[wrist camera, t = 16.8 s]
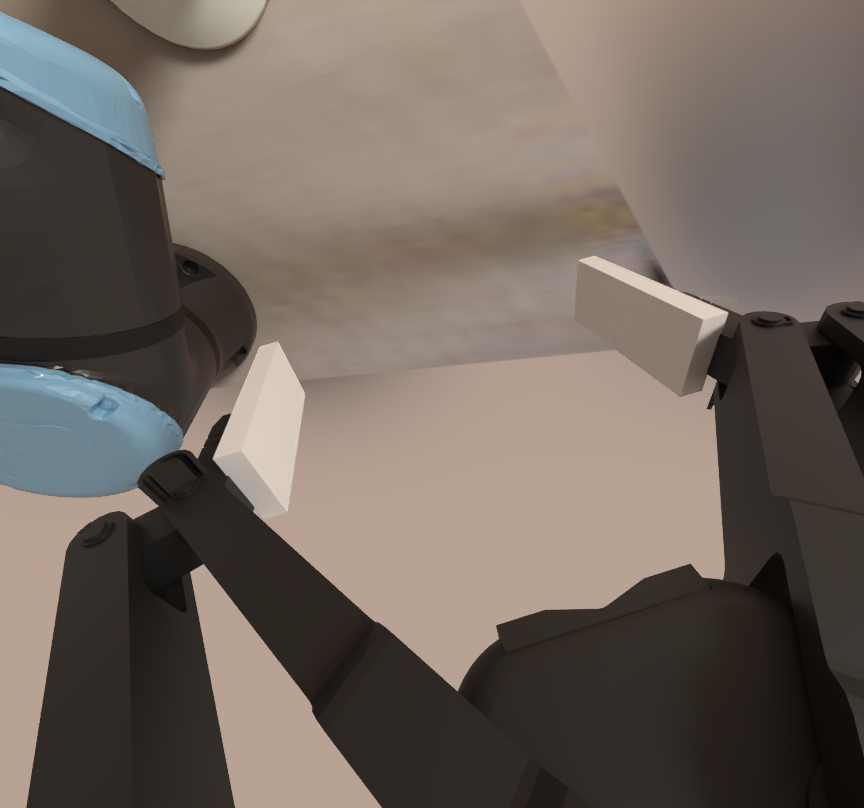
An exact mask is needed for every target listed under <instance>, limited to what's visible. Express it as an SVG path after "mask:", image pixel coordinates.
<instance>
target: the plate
mask: <svg viewBox="0 0 864 808" xmlns="http://www.w3.org/2000/svg"><path fill="white" fill-rule="evenodd" d="M111 1H112V2H113V3H114V4H115V5H116V6H117V7H118V8H119V9H120V10H121V11H123V12H124V13H125V14H127V15H128V16H129V17H130V18H132V19H133V20H134V21H135V22H137V23H138V24H140V25H142V26H143V27H145V28H146V29H148V30H149V31H151V32H153V33H154V34H156V35H158V36H160V37H162V38H164V39H166V40H168V41H170V42H172V43H175V44H177V45H180V46H183V47H187V48H192V49H197V50H215V49H222V48H225V47H228V46H231V45H233V44H235V43H237V42H239V41H240V40H242V39H243V38H244V37H246V36H247V35H248V34H249V33H250V32H251V31H252V30H253V29H254V27H255V26H256V25H257V24H258V22H259V20H260V19H261V17H262V15H263V13H264V11H265V9H266V6H267V4H268V1H269V0H111Z"/></svg>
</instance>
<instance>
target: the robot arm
mask: <svg viewBox="0 0 864 808" xmlns="http://www.w3.org/2000/svg"><path fill="white" fill-rule="evenodd" d="M162 180H165V174H164V171H163V169H162V168H161V167H160V166H159V165H158V160H157V156H156V151H155V146H154V142H153V137H152V132H151V128H150V123H149V118H148V114H147V111H146V108H145V106H144V104H143V102H142V100H141V98H140V96H139V95H138V93H137V92H136V91H135V89H134V88H133V87H132V86H131V85H130V84H129V83H128V81H127V80H126V79H125V78H124V77H123V76H121V75H120V74H119V73H118V72H116V71H115V70H114V69H112V68H111V67H110V66H108V65H107V64H105V63H103V62H102V61H100V60H99V59H97V58H95V57H94V56H92V55H90V54H88V53H86V52H84V51H82V50H81V49H79V48H77V47H75V46H73V45H71V44H69V43H67V42H65V41H62V40H60V39H58V38H56V37H54V36H52V35H50V34H48V33H46V32H44V31H42V30H40V29H37V28H35V27H33V26H31V25H29V24H27V23H24V22H22V21H20V20H18V19H16V18H13V17H11V16H9V15H7V14H4V13H2V12H0V484H2V485H6V486H9V487H12V488H15V489H18V490H22V491H26V492H31V493H36V494H42V495H49V496H58V497H101V496H108V495H114V494H118V493H123V492H127V491H129V490H132V489H135V488H137V487H138V488H139V489H140V490H142V491H143V492H144V493H145V494H146V495H147V496H148V497H149V498H150V499H152V500H153V501H154V502H155V503H156V504H157V505H158V506H159V507H157V508H155V509H153V510H151V511H149V512H147V513H145V514H143V515H141V516H140V517H137V518H135V519H134V520H133V519H132V518H130V517H129V516H128V515H127V514H126V513H124V512H120V511H117V512H112V513H108V514H106V515H104V516H102V517H99V518H97V519H96V520H94V521H93V522H91V523H89V524H88V525H86V526H85V527H84V528H83V529H81V530H80V531H79V532H78V533H77V535H76V536H75V537H74V538H73V540H72V541H71V542H70V544H69V546H68V548H67V551H66V556H65V563H64V569H63V576H62V581H61V588H60V595H59V602H58V607H57V614H56V620H55V627H54V633H53V640H52V646H51V652H50V659H49V666H48V672H47V678H46V685H45V691H44V698H43V704H42V711H41V718H40V723H39V730H38V736H37V743H36V749H35V756H34V762H33V769H32V775H31V781H30V788H29V795H28V801H27V807H26V808H235V806H234V801H233V795H232V790H231V785H230V780H229V774H228V769H227V764H226V758H225V754H224V748H223V743H222V737H221V732H220V727H219V722H218V716H217V711H216V706H215V701H214V696H213V690H212V685H211V679H210V674H209V670H208V664H207V659H206V653H205V648H204V643H203V637H202V632H201V627H200V622H199V616H198V611H197V606H196V601H195V596H194V590H193V585H192V580H191V574H190V572H191V571H192V570H194V569H196V568H197V567H199V566H201V565H203V564H204V565H205V566H206V567H207V569H208V570H209V571H210V572H211V574H212V575H213V576H214V578H215V579H216V580H217V581H218V583H219V584H220V585H221V586H222V588H223V589H224V591H225V592H226V593H227V594H228V596H229V597H230V598H231V599H232V601H233V602H234V604H235V605H236V606H237V607H238V609H239V610H240V611H241V613H242V614H243V615H244V617H245V618H246V619H247V620H248V622H249V623H250V624H251V626H252V627H253V628H254V629H255V631H256V632H257V633H258V635H259V636H260V637H261V639H262V640H263V641H264V642H265V644H266V645H267V646H268V648H269V649H270V650H271V651H272V653H273V654H274V655H275V657H276V658H277V659H278V660H279V662H280V663H281V664H282V666H283V667H284V668H285V669H286V671H287V672H288V674H289V675H290V676H291V677H292V679H293V680H294V681H295V683H296V684H297V685H298V686H299V688H300V689H301V690H302V692H303V693H304V694H305V696H306V697H307V698H308V700H309V701H310V703H311V705H312V712H313V714H314V716H315V718H316V719H317V721H318V723H319V724H320V725H321V727H322V728H323V730H324V731H325V733H326V734H327V735H328V737H329V738H330V739H331V740H332V742H333V743H334V745H335V746H336V747H337V748H338V750H339V751H340V752H341V754H342V755H343V756H344V757H345V759H346V760H347V762H348V763H349V764H350V766H351V767H352V768H353V770H354V771H355V772H356V774H357V775H358V776H359V777H360V779H361V780H362V782H363V783H364V784H365V786H366V787H367V788H368V790H369V791H370V792H371V794H372V795H373V796H374V798H375V799H376V800H377V802H378V803H379V804H380V806H381V807H382V808H864V303H863V302H859V301H855V302H842V303H835V304H832V305H830V306H827V308H826V309H825V312H824V313H823V315H822V317H821V319H820V321H814V322H804V323H799V322H798V321H797V320H796V319H795V318H793V317H791V316H789V315H785V314H781V313H777V312H767V311H766V312H765V311H762V312H751V313H747V314H745V315H743V316H742V315H740V314H737V313H735V312H733V311H730V310H728V309H725V308H723V307H721V306H718V305H716V304H713V303H712V304H710V302H709V301H706V300H704V299H701V300H700V298H699V297H697V296H694V295H692V294H689V293H686V292H681V291H677V290H674V289H672V288H670V287H667V286H665V285H662V284H660V283H658V282H655V281H653V280H651V279H648V278H646V277H644V276H641V275H639V274H637V273H634V272H632V271H629V270H627V269H625V268H622V267H620V266H618V265H615V264H613V263H611V262H608V261H606V260H604V259H601V258H599V257H596V256H592V257H588V258H584V259H581V260H578V267H577V284H576V301H575V318H574V319H575V320H576V321H578V322H579V323H580V324H582V325H583V326H584V327H586V328H587V329H588V330H590V331H591V332H593V333H594V334H595V335H597V336H598V337H599V338H601V339H602V340H603V341H605V342H606V343H607V344H609V345H610V346H612V347H613V348H614V349H616V350H617V351H618V352H620V353H621V354H622V355H624V356H625V357H627V358H628V359H629V360H631V361H632V362H633V363H635V364H636V365H638V366H639V367H640V368H642V369H643V370H644V371H646V372H647V373H648V374H650V375H651V376H653V377H654V378H655V379H656V380H658V381H659V382H661V383H662V384H663V385H665V386H666V387H668V388H669V389H670V390H672V391H673V392H675V393H676V394H677V395H678V396H680V397H682V396H685V395H688V394H692V393H695V392H698V391H702V389H703V386H704V383H705V380H706V377H707V374H708V375H709V376H711V377H713V378H714V379H716V380H717V383H716V386H715V388H714V391H713V394H712V396H711V399H710V402H709V404H708V407H707V409H711V408H712V406H713V405H715V419H716V420H715V421H716V436H717V451H718V466H719V480H720V496H721V511H722V526H723V541H724V556H725V573H724V578H723V580H719V579H711V578H702V577H701V576H700V575H699V573H698V572H697V571H696V570H695V569H694V567H693V566H692V565H691V564H688V565H685V566H682V567H679V568H676V569H672V570H669V571H666V572H663V573H660V574H657V575H653V576H650V577H648V578H644V579H643V580H641V581H640V582H639V583H637V584H636V585H635V586H633V587H632V588H630V589H629V590H628V591H626V592H625V593H624V594H622V595H621V596H620V597H618V598H617V599H616V600H614V601H613V602H611V603H610V604H609V605H607V606H606V607H604V608H601V609H573V610H572V609H571V610H543V611H541V612H537V613H534V614H531V615H528V616H524V617H521V618H518V619H515V620H512V621H509V622H506V623H503V624H499V625H497V626H496V627H497V632H498V637H499V639H498V640H497V641H496V642H494V643H493V644H492V645H490V646H489V647H488V648H487V649H486V650H485V651H484V652H483V653H482V654H481V655H480V656H479V657H478V658H477V659H476V661H475V662H474V663H473V664H472V666H471V667H470V669H469V671H468V672H467V674H466V675H465V677H464V679H463V681H462V683H461V685H460V688H459V690H458V692H457V691H456V690H455V689H454V688H453V687H452V686H451V685H449V684H448V683H447V682H446V681H445V680H444V679H443V678H442V677H441V676H439V675H438V674H437V673H436V672H435V671H434V670H433V669H432V668H430V667H429V666H428V665H427V664H426V663H425V662H424V661H423V660H421V659H420V658H419V657H418V656H417V655H416V654H415V653H414V652H413V651H411V650H410V649H409V648H408V647H407V646H406V645H405V644H404V643H403V642H401V641H400V640H399V639H398V638H397V637H396V636H395V635H394V634H392V633H391V632H390V631H389V630H388V629H387V628H385V627H384V626H383V625H381V624H380V623H378V622H374V621H373V620H372V619H371V618H369V617H368V616H367V615H366V614H365V613H364V612H362V611H361V609H359V608H358V607H357V606H356V605H355V604H354V603H353V602H352V601H351V600H349V599H348V598H347V597H346V596H345V595H344V594H343V593H342V592H341V591H339V590H338V589H337V588H336V587H335V586H334V585H333V584H332V583H331V582H330V581H328V580H327V579H326V578H325V577H324V576H323V575H322V574H321V573H320V572H319V571H317V570H316V569H315V568H314V567H313V566H312V565H311V564H310V563H309V562H307V561H306V560H305V559H304V558H303V557H302V556H301V555H300V554H298V552H296V551H295V550H294V549H293V548H292V547H291V546H290V545H289V544H287V542H285V541H284V540H283V539H282V538H281V537H280V536H279V535H278V534H276V533H275V532H274V531H273V530H272V529H271V528H270V527H269V526H268V525H267V524H266V523H264V522H263V521H262V520H261V519H260V518H259V517H258V516H257V515H256V514H254V513H253V510H254V509H255V510H256V511H257V513H258V514H259V515H260V516H261V517H262V519H266V518H269V517H273V516H277V515H280V514H283V513H287V512H288V505H289V499H290V492H291V485H292V479H293V472H294V466H295V459H296V452H297V445H298V439H299V433H300V426H301V419H302V413H303V406H304V399H305V393H304V391H303V389H302V387H301V385H300V383H299V381H298V379H297V377H296V375H295V373H294V371H293V370H292V368H291V366H290V364H289V362H288V360H287V358H286V356H285V354H284V352H283V350H282V348H281V346H280V344H279V343H278V342H274V343H270V344H267V345H263V346H260V347H259V349H258V352H257V354H256V356H255V359H254V361H253V364H252V366H251V368H250V371H249V373H248V376H247V378H246V380H245V383H244V385H243V388H242V390H241V392H240V395H239V397H238V400H237V402H236V404H235V407H234V409H233V412H232V413H231V414H227V415H224V416H222V417H221V418H220V419H219V421H218V422H217V423H216V424H215V425H214V426H213V427H212V429H211V431H210V433H209V436H208V439H207V440H206V442H205V444H204V448H202V451H201V453H200V455H199V457H198V459H197V458H196V457H195V456H194V455H193V453H192V452H190V451H187V450H179V449H180V447H181V446H182V443H183V438H184V436H185V434H186V432H187V430H188V428H189V427H190V424H191V423H192V421H193V419H194V417H195V415H196V413H197V412H198V410H199V408H200V406H201V404H202V402H203V400H204V399H205V397H206V395H207V393H208V391H209V389H210V387H211V386H212V383H213V382H214V381H216V380H218V379H220V378H222V377H223V376H225V375H227V374H229V373H231V372H232V371H234V370H235V369H236V368H237V367H238V366H239V365H240V364H241V363H242V362H243V361H244V360H245V359H246V357H247V356H248V354H249V352H250V350H251V347H252V345H253V343H254V340H255V337H256V330H257V321H256V315H255V311H254V308H253V305H252V302H251V300H250V298H249V296H248V294H247V293H246V291H245V290H244V288H243V287H242V285H241V284H240V283H239V282H238V280H237V279H236V278H235V277H234V276H233V275H232V274H231V273H230V272H229V271H228V270H227V269H225V268H224V267H223V266H222V265H220V264H219V263H218V262H216V261H215V260H213V259H212V258H210V257H208V256H206V255H205V254H203V253H201V252H199V251H196V250H194V249H191V248H189V247H186V246H182V245H179V244H174V243H172V237H171V231H170V225H169V219H168V214H167V208H166V202H165V196H164V190H163V184H162ZM860 370H861V371H862V373H861V378H860V381H859V383H857V382H856V381H855V378H856V377H857V375H858V374H859V372H860Z"/></svg>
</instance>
